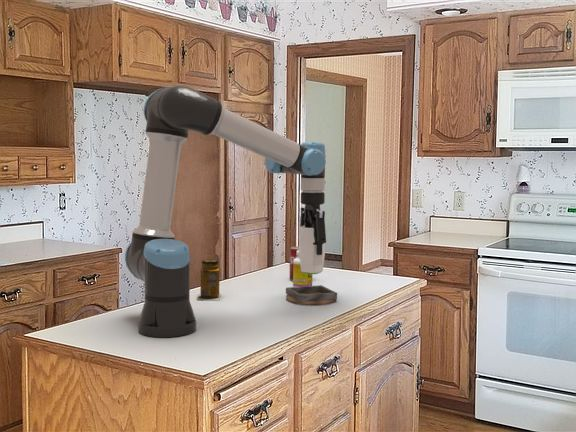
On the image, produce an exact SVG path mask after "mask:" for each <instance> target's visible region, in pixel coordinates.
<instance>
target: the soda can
mask: <svg viewBox="0 0 576 432" xmlns="http://www.w3.org/2000/svg"><path fill="white" fill-rule="evenodd" d="M296 251H299V245H298V246H291V247H290V248H289V271H288V272H289V273H288V274H289V277H288V278H289V281H291V282H293V261H294V259H295V258H297V255H296Z"/></svg>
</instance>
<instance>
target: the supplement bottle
mask: <svg viewBox="0 0 576 432" xmlns="http://www.w3.org/2000/svg"><path fill="white" fill-rule="evenodd" d="M296 255H297V258H295V259H294V261H293V281H292V287H303V286H313V274H306V273H303V272H301V266H300V256H299V251H296Z"/></svg>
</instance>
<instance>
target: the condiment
mask: <svg viewBox="0 0 576 432" xmlns="http://www.w3.org/2000/svg"><path fill="white" fill-rule="evenodd" d="M221 298H222V293H220V268H219V260H217V259H210V258H209V259H207V258H206V259H203V260H201V268H200V293H199V294H198V296H197V298H196V301H221Z"/></svg>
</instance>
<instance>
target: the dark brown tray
mask: <svg viewBox="0 0 576 432" xmlns="http://www.w3.org/2000/svg"><path fill="white" fill-rule="evenodd" d="M285 294H286V295H285V300H286V301H287V302H288V303H290V304H294V305H301V306H325V305H326V306H327V305H331V304H333V303H335V302H336V301H337V300H338V292H336V291H334V290H332V289H330V288H328V287H326V286H323V285H321V284H320V285H312V286H303V287H293V286H291V287H285Z"/></svg>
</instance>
